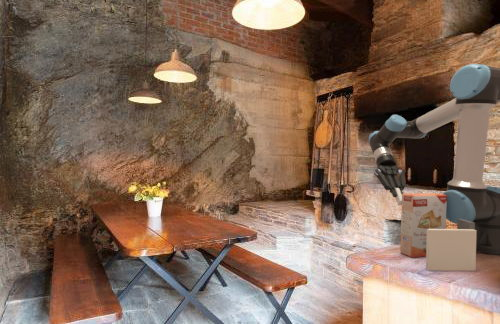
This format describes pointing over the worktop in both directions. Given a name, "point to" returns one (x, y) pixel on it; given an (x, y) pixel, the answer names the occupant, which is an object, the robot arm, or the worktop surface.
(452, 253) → the shelf bookend
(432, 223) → the cracker box
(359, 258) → the worktop surface
